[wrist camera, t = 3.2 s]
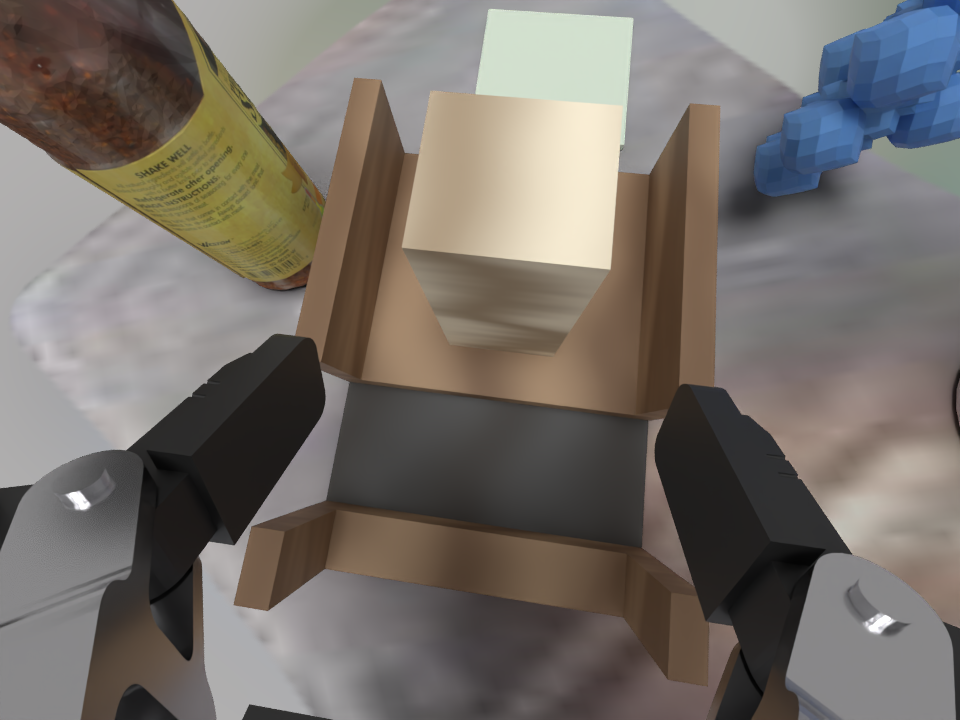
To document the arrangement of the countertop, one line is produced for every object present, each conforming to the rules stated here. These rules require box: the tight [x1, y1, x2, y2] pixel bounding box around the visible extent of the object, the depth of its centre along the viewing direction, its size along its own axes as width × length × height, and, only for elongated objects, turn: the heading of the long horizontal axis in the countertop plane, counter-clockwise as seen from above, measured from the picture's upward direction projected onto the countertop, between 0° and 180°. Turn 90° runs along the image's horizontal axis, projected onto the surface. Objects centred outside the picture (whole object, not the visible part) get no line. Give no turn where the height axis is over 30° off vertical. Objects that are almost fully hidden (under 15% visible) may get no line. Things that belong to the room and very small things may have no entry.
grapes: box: [754, 0, 960, 197], centre depth 17 cm, size 12×7×12 cm, turn 137°
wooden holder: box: [234, 78, 720, 686], centre depth 18 cm, size 15×21×6 cm
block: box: [402, 91, 623, 357], centre depth 15 cm, size 5×4×10 cm
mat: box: [475, 9, 633, 150], centre depth 24 cm, size 9×9×1 cm
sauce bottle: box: [0, 0, 326, 290], centre depth 13 cm, size 7×6×20 cm
